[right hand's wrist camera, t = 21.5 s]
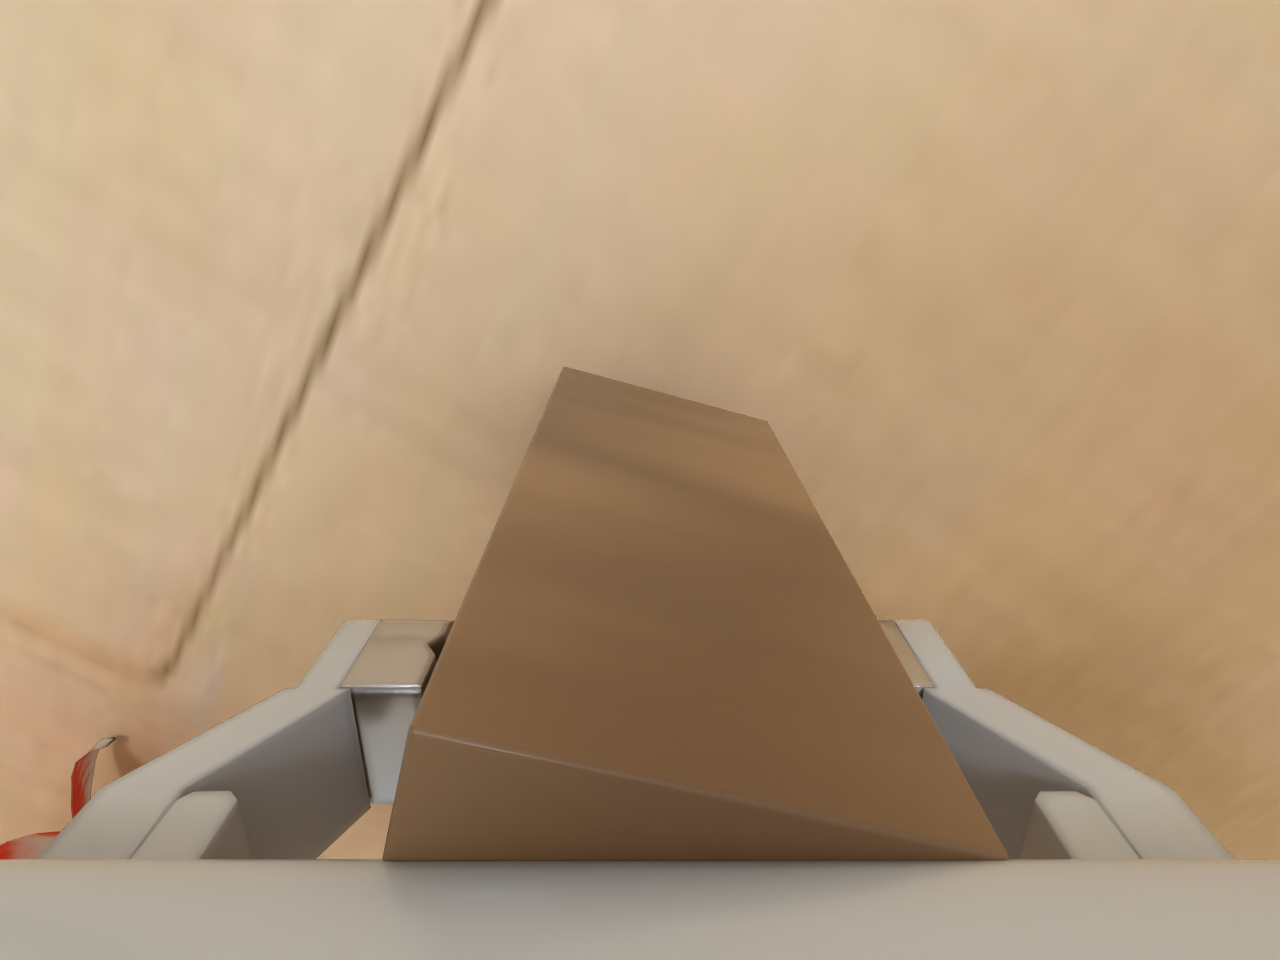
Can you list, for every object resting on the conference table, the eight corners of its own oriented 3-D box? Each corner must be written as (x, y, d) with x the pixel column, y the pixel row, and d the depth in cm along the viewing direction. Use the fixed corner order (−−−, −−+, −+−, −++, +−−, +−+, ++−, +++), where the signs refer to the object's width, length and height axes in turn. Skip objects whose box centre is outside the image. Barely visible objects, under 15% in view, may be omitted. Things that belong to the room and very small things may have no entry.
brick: (514, 569, 17) (324, 1146, 7) (563, 365, 15) (407, 729, 5) (699, 613, 17) (786, 1218, 7) (768, 421, 16) (1013, 859, 5)
